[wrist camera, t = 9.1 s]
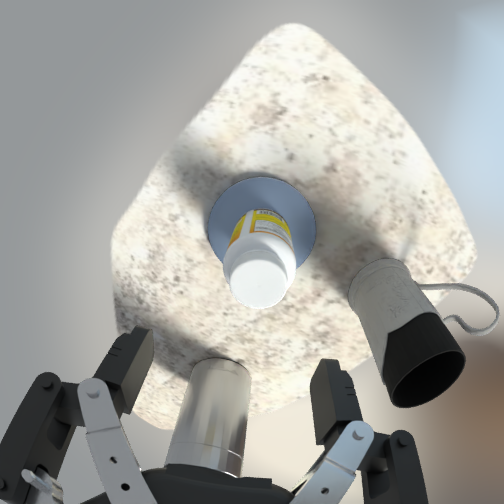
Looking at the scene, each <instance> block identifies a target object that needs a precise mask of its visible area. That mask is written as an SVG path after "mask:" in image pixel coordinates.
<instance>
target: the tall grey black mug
mask: <svg viewBox="0 0 504 504" xmlns="http://www.w3.org/2000/svg"><path fill="white" fill-rule="evenodd" d="M440 289H456V290H463V291H468V292H471V293H474V294H476V295H478V296H480V297H482V298H483V299H485V300H486V301H487V302H488V303H489V304H490V305H491V306H492V307H493V308H494V310H495V311H496V319H495V320H494V322H493V323H492V324H491V325H490V326H489V327H487V328H484V329H475V328H472V327H470V326H468V325H467V324H466V323H465V322H464V321H463V320H462V319H461V318H460V317H459V316H457V315H450V316H448V317H446V318H444V319H442V317H441V316H440V314H439V313H438V312H437V310H436V309H435V308H434V306H433V305H432V304H431V302H430V301H429V300H428V298H427V297H426V296H425V294H424V293H423V292H422V291H421V290H440ZM348 300H349V304H350V307H351V308H352V310H353V311H354V312H355V313H356V314H357V315H358V317H359V319H360V322H361V324H362V327H363V329H364V332H365V335H366V337H367V340H368V342H369V345H370V348H371V351H372V353H373V356H374V359H375V362H376V364H377V367H378V370H379V373H380V376H381V378H382V382H383V384H384V385H386V387H387V390H388V393H389V396H390V400H391V402H392V404H393V405H395V406H396V407H399V408H411V407H416V406H419V405H422V404H424V403H427V402H429V401H431V400H433V399H434V398H436V397H438V396H439V395H441V394H442V393H443V392H444V391H446V390H447V389H448V388H449V387H450V386H451V385H452V384H453V383H454V382H455V381H456V380H457V379H458V377H459V376H460V374H461V373H462V371H463V369H464V366H465V362H466V358H465V355H464V353H463V351H462V350H461V348H460V347H459V345H458V344H457V342H456V341H455V339H454V338H453V336H452V335H451V333H450V332H449V330H448V329H447V327H446V326H445V324H447V323H448V322H451V321H457V322H458V323H459V324H460V325H461V327H462V328H463V329H464V330H465V331H467V332H468V333H470V334H472V335H477V336H480V335H485V334H487V333H489V332H490V331H491V330H493V329H494V327H495V326H496V325H497V323H498V319H499V308H498V306H497V304H496V303H495V301H494V300H493V299H492V298H490V296H488V295H487V294H486V293H484V292H483V291H481V290H479V289H477V288H475V287H472V286H469V285H465V284H461V283H442V284H418V283H417V282H416V281H413V279H412V278H411V274H410V271H409V269H408V268H407V266H406V265H405V264H403V263H402V262H400V261H399V260H396V259H389V258H387V259H380V260H376V261H374V262H372V263H370V264H368V265H367V266H365V267H364V268H363V269H362V270H360V271H359V273H358V274H357V275H356V276H355V278H354V279H353V281H352V283H351V285H350V288H349V293H348Z"/></svg>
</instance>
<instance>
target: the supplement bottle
mask: <svg viewBox="0 0 504 504" xmlns="http://www.w3.org/2000/svg"><path fill="white" fill-rule="evenodd" d="M223 271H224V276H225V278H226V280H227V282H228V284H229V286H230V290H231V293H232V295H233V296H234V297H235V299H236V300H237V301H238V302H240V303H241V304H243V305H245V306H247V307H250V308H255V309H263V308H268V307H271V306H273V305H275V304H277V303H278V302H279V301H280V300H281V299H282V298H283V297H284V295H285V293H286V290H287V289H288V288H289V286H290V285H291V284H292V282H293V280H294V277H295V274H296V258H295V254H294V249H293V244H292V240H291V235H290V230H289V227H288V224H287V222H286V221H285V219H284V218H283V217H282V216H281V215H280V214H279V213H277V212H275V211H273V210H270V209H266V208H258V209H253V210H250V211H248V212H247V213H245V214H244V215H243V216H242V217H241V218H240V219H239V220H238V222H237V224H236V226H235V229H234V231H233V234H232V237H231V240H230V243H229V246H228V248H227V251H226V254H225V257H224V261H223Z"/></svg>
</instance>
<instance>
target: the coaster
mask: <svg viewBox="0 0 504 504" xmlns="http://www.w3.org/2000/svg"><path fill="white" fill-rule="evenodd" d="M258 208H266V209H270V210H273V211H275V212H277V213H279V214H280V215H281V216H282V217H283V218H284V219H285V221H286V222H287V224H288V227H289V230H290V235H291V240H292V244H293V249H294V254H295V258H296V269H297V268H298V267H299V266H300V265H301V264H302V263H303V262H304V261H305V260H306V258H307V257H308V256H309V254H310V252H311V250H312V248H313V245H314V241H315V237H316V223H315V218H314V215H313V212H312V210H311V208H310V206H309V204H308V202H307V200H306V199H305V198H304V196H303V195H302V194H301V193H300V192H299V191H298V190H297V189H295V188H294V187H293V186H291V185H290V184H288V183H286V182H284V181H282V180H279V179H275V178H270V177H253V178H248V179H245V180H242V181H240V182H237V183H236V184H234V185H232V186H231V187H229V188H228V189H227V190H226V191H225V192H224V193H223V194H222V195H221V196H220V197H219V199H218V200H217V201H216V203H215V205H214V206H213V208H212V211H211V214H210V217H209V222H208V235H209V240H210V243H211V246H212V249H213V251H214V253H215V254H216V256H217V257H218V259H219V260H220V261H221V262H222V263H223V261H224V257H225V254H226V251H227V248H228V246H229V243H230V240H231V237H232V234H233V231H234V229H235V226H236V224H237V222H238V220H239V219H240V218H241V217H242V216H243V215H244V214H245V213H247V212H248V211H250V210H253V209H258Z"/></svg>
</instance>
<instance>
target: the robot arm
mask: <svg viewBox="0 0 504 504" xmlns="http://www.w3.org/2000/svg"><path fill="white" fill-rule="evenodd" d="M153 357H154V346H153V332H152V329H149V328H145V327H141V326H138V325H137V326H135V328H134V329H133V331H132V333H131V334H127V333H124V334H122V335H121V336H119V337H118V338H117V339H116V340H115V342H114V343H113V345H112V348H110V350H109V352H108V354H107V355H106V356H105V358H104V360H103V361H102V363H101V364H100V366H99V368H98V369H97V371H96V373H95V374H94V376H93V377H92V378H89V379H86V380H84V381H82V382H81V383H80V384H75V383H66V382H61V380H60V378H59V377H58V376H57V375H55V374H54V373H51V372H45V373H42V374H40V375H39V376H38V377H37V378H36V379H35V381H34V382H33V384H32V386H31V387H30V389H29V391H28V392H27V394H26V396H25V398H24V399H23V401H22V403H21V405H20V406H19V408H18V410H17V412H16V414H15V415H14V417H13V419H12V421H11V423H10V425H9V427H8V429H7V431H6V433H5V435H4V437H3V439H2V441H1V444H0V499H1V500H3V501H5V502H7V503H8V504H63V490H62V487H61V485H60V484H59V483H58V481H57V480H56V479H57V477H58V474H59V471H60V468H61V465H62V463H63V460H64V457H65V454H66V452H67V449H68V446H69V444H70V441H71V439H72V436H73V434H74V432H75V429H76V427H77V426H83V427H86V430H87V433H86V438H87V442H88V445H89V448H90V452H91V454H92V457H93V460H94V463H95V466H96V469H97V471H98V474H99V476H100V479H101V481H102V484H103V486H104V489H105V491H106V492H104V493H102V494H100V495H98V496H96V497H94V498H91V499H89V500H87V501H85V502H83V503H80V504H338V503H339V502H340V501H341V499H342V498H343V496H344V495H345V493H346V492H347V490H348V489H349V487H350V486H351V484H352V482H353V481H354V479H355V477H356V474H355V471H356V470H360V471H361V476H362V486H363V497H364V504H428V499H427V493H426V488H425V483H424V478H423V473H422V469H421V465H420V460H419V456H418V453H417V448H416V445H415V441H414V438H413V436H412V435H411V434H410V433H409V432H407V431H405V430H397V431H395V432H393V433H392V434H391V435H387V434H382V433H377V432H374V431H373V429H372V428H371V426H370V425H368V424H367V423H365V422H364V421H363V418H362V414H361V410H360V407H359V403H358V399H357V396H356V392H355V389H354V384H353V381H352V378H351V377H350V376H349V374H348V373H347V371H344V370H341V369H340V365H339V362H338V360H335V359H321V361H320V362H319V365H318V367H317V369H316V371H315V373H314V375H313V377H312V379H311V382H310V395H311V403H312V410H313V419H314V428H315V437H316V445H324V447H325V450H324V451H323V453H322V454H321V455H320V457H319V458H318V459H317V461H316V462H315V463H314V464H313V466H312V467H311V468H310V469H309V471H308V472H307V473H306V474H305V476H304V477H303V478H302V479H301V480H300V481H299V482H298V483H297V484H296V485H295V486H294V487H293V488H292V489H291V490H290V491H288V490H286V489H284V488H282V487H280V486H277V485H275V484H272V479H269V478H254V477H242V467H243V458H244V448H245V439H246V429H247V420H248V410H249V401H250V391H251V376H250V374H249V372H248V371H247V370H246V369H245V368H244V367H242V366H241V365H239V364H237V363H235V362H233V361H229V360H226V359H219V358H211V359H205V360H202V361H200V362H198V363H197V364H196V365H195V366H194V368H193V370H192V373H191V377H190V380H189V383H188V386H187V389H186V392H185V396H184V399H183V402H182V406H181V409H180V412H179V416H178V419H177V422H176V426H175V429H174V433H173V436H172V440H171V443H170V447H169V450H168V454H167V457H166V461H165V464H164V468H155V469H150V470H146V471H142V469H141V467H140V465H139V463H138V461H137V459H136V457H135V455H134V453H133V451H132V449H131V446H130V444H129V441H128V439H127V437H126V434H125V432H124V429H123V427H122V424H121V421H120V418H121V415H122V413H126V414H130V413H131V411H132V408H133V406H134V404H135V401H136V399H137V396H138V394H139V392H140V389H141V387H142V385H143V382H144V380H145V378H146V375H147V373H148V371H149V368H150V366H151V364H152V361H153Z"/></svg>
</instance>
